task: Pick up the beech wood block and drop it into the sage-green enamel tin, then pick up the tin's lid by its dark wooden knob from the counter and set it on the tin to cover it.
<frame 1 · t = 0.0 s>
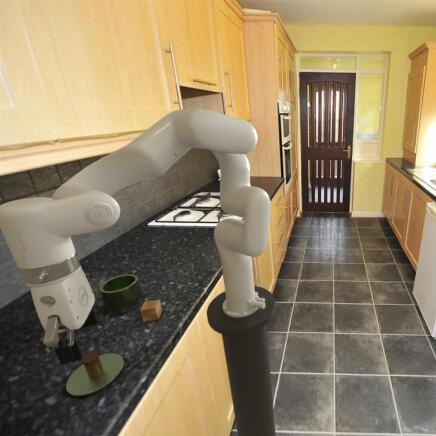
hand: (81, 341, 53), 18 cm above the worktop, tool pointing down, fingers open, 9 cm apart
block: (153, 315, 86), on the worktop
tin: (125, 304, 92), on the worktop
beverage cup: (58, 314, 88), on the worktop
lid: (96, 373, 66), point 1 cm above the worktop
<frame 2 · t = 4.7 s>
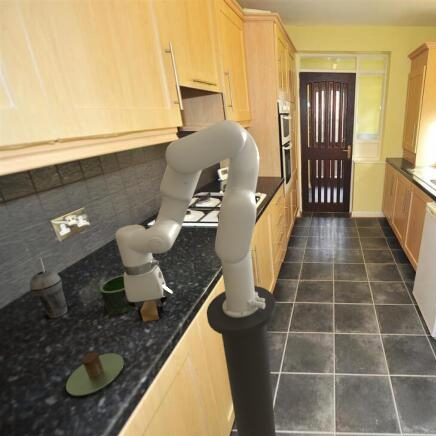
hand: (152, 315, 86), 0 cm above the worktop, tool pointing down, fingers closed on block, 4 cm apart
block: (153, 315, 86), on the worktop, touching gripper
everything else where it was.
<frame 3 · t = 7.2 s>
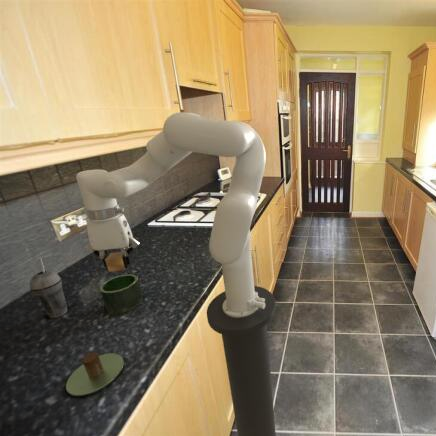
hand: (119, 266, 85), 16 cm above the worktop, tool pointing down, fingers closed on block, 4 cm apart
block: (119, 267, 85), point 15 cm above the worktop, touching gripper
everything else where it was.
when the fingers open (8 cm above the worktop, at t = 9.7 s): block drops 7 cm, resting on tin.
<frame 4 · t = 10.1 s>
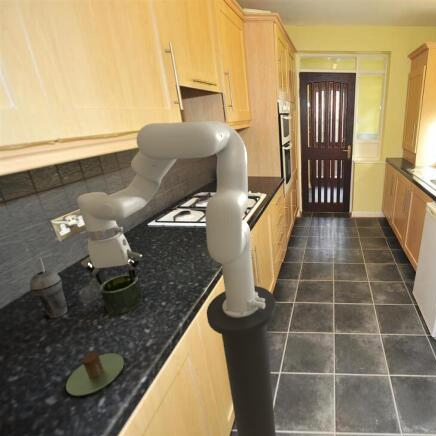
hand: (118, 280, 88), 9 cm above the worktop, tool pointing down, fingers open, 8 cm apart
block: (125, 302, 91), point 1 cm above the worktop, touching tin
everything else where it was.
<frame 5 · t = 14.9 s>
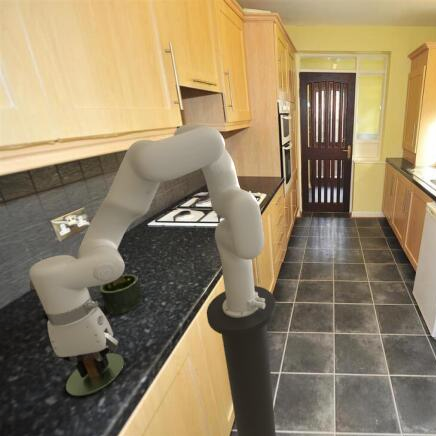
hand: (95, 370, 65), 2 cm above the worktop, tool pointing down, fingers closed on lid, 3 cm apart
lid: (96, 373, 66), point 1 cm above the worktop, touching gripper
everything else where it was.
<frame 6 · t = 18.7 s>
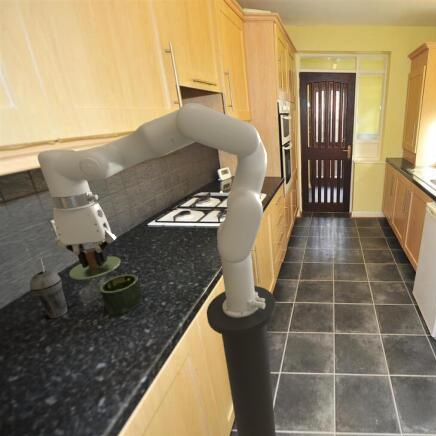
hand: (95, 263, 73), 22 cm above the worktop, tool pointing down, fingers closed on lid, 3 cm apart
lid: (96, 267, 74), point 21 cm above the worktop, touching gripper
everything else where it was.
when the fingers open (10 cm above the worktop, at t = 22.8 s): lid stays where it is, resting on tin.
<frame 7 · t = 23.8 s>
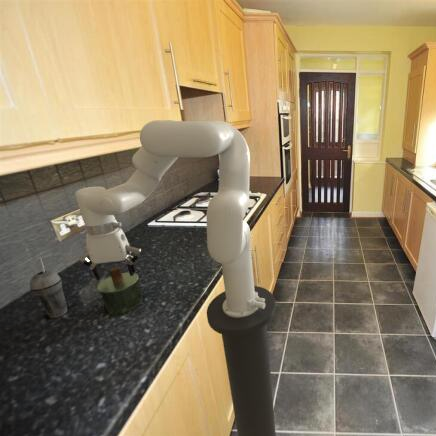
hand: (117, 275, 88), 11 cm above the worktop, tool pointing down, fingers open, 9 cm apart
lid: (118, 283, 89), point 8 cm above the worktop, touching tin
everything else where it was.
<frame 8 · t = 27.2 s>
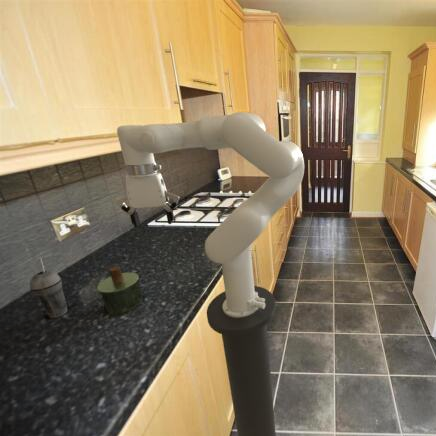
hand: (154, 224, 84), 28 cm above the worktop, tool pointing down, fingers open, 9 cm apart
nothing on the worktop moved.
at the end: block inside the target area in the tin (0.1 cm from its centre), point 0.5 cm above the tin's base; lid 0.0 cm off-centre on the tin, point 8.5 cm above the tin's base; lid tilted 0° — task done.
